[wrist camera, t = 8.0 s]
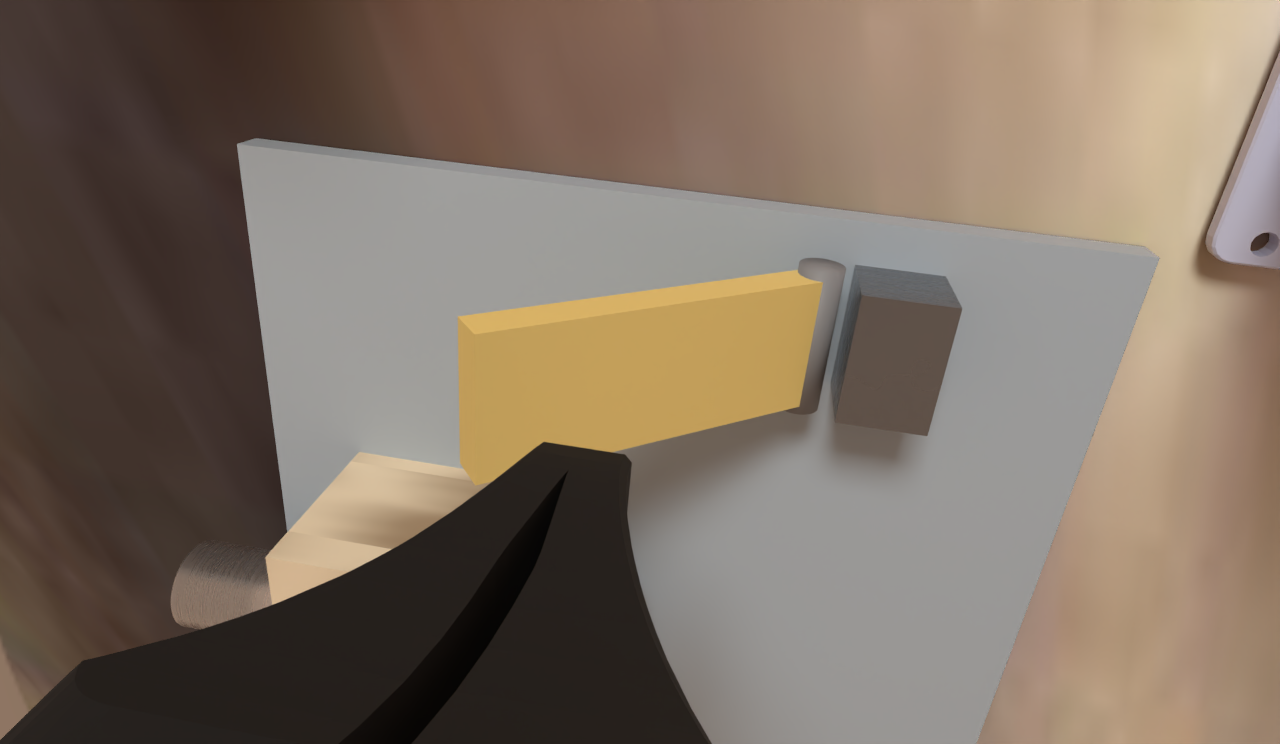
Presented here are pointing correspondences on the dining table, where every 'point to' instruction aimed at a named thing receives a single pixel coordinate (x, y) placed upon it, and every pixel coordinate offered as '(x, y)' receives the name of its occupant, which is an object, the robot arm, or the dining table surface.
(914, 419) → the block
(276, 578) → the block
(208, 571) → the pin
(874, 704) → the board
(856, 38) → the dining table surface
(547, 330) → the tab
